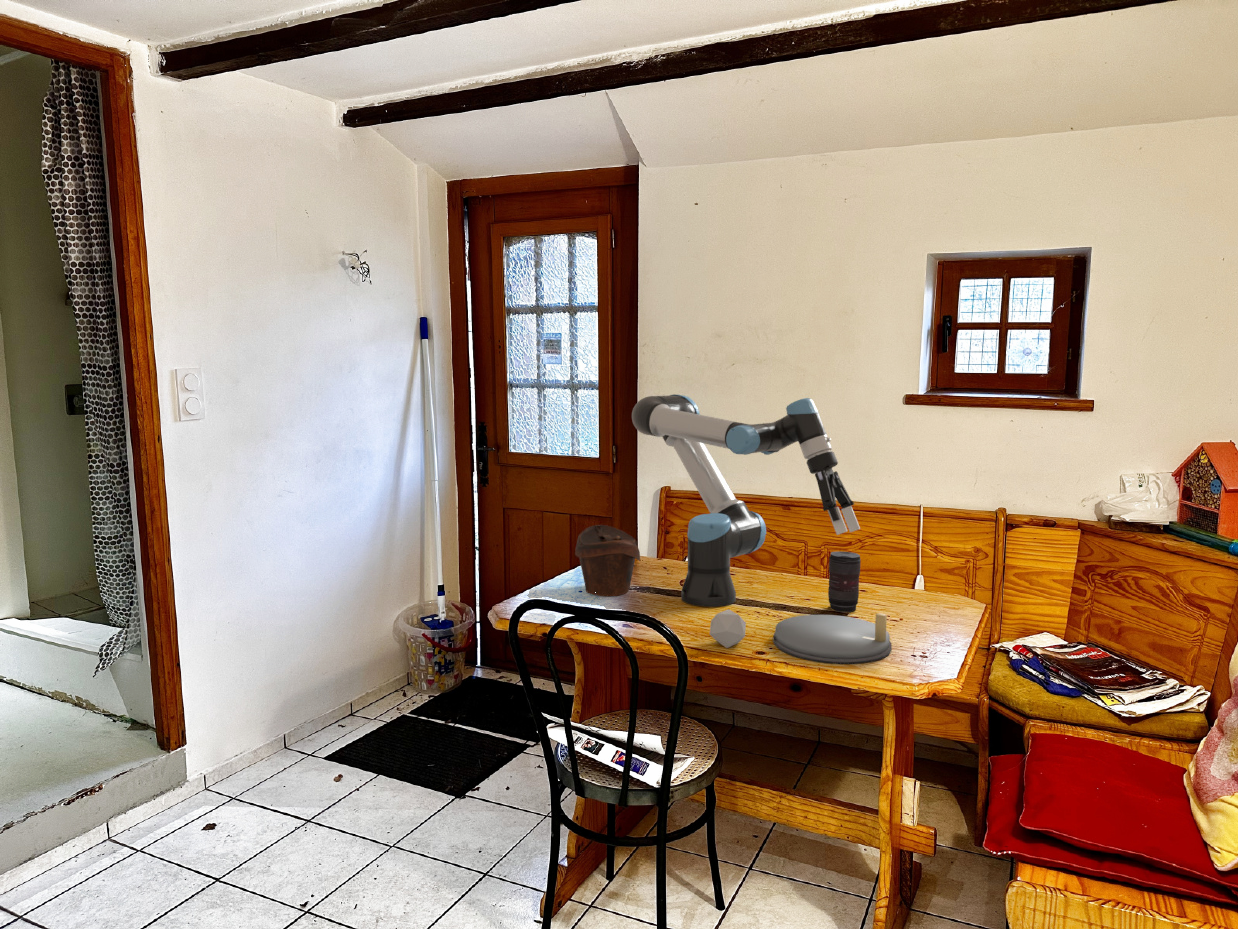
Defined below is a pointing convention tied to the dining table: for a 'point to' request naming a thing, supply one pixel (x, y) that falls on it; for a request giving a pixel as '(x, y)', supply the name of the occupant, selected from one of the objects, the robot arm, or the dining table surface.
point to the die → (727, 628)
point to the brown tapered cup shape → (606, 560)
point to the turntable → (834, 636)
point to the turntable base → (832, 660)
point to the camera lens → (844, 581)
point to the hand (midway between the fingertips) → (849, 532)
